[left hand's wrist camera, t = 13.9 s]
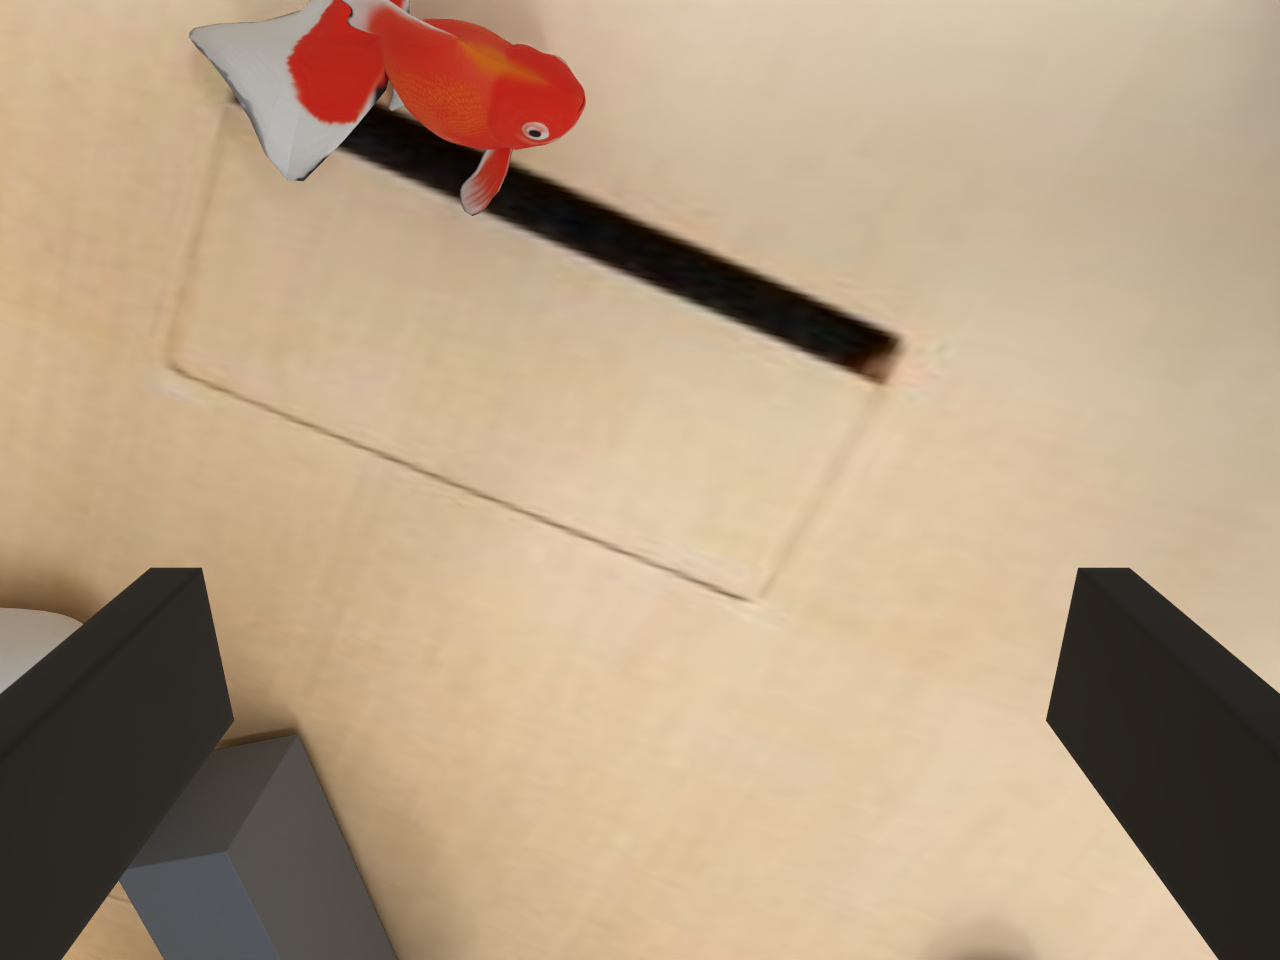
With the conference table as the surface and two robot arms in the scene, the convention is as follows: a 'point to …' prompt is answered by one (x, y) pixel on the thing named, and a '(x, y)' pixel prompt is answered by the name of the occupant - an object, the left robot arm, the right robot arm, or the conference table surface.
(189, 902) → the bar
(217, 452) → the conference table surface
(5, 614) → the projector
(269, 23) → the fish
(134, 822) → the left robot arm
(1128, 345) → the conference table surface
